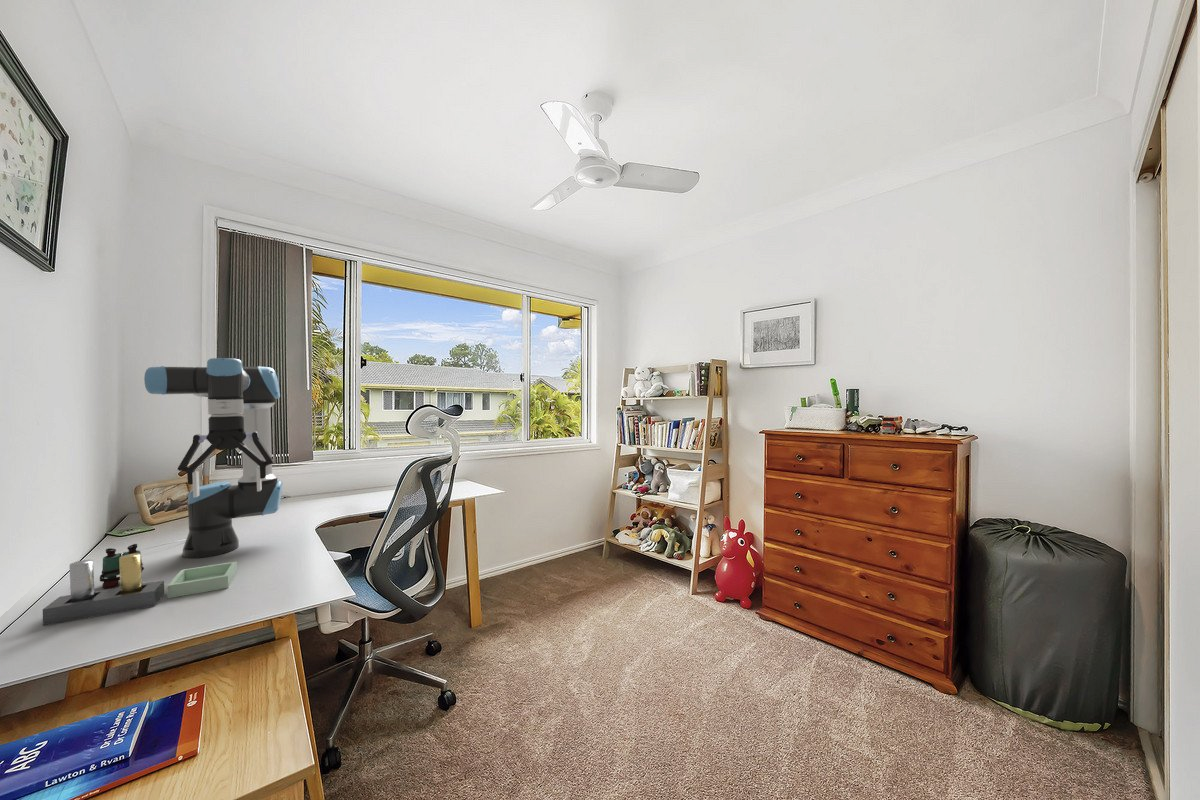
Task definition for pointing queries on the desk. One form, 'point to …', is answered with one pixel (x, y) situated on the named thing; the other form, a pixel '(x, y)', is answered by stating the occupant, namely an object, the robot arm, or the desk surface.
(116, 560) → the binoculars
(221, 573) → the tray
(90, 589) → the pin
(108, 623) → the desk surface
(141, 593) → the bar
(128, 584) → the brass pin
